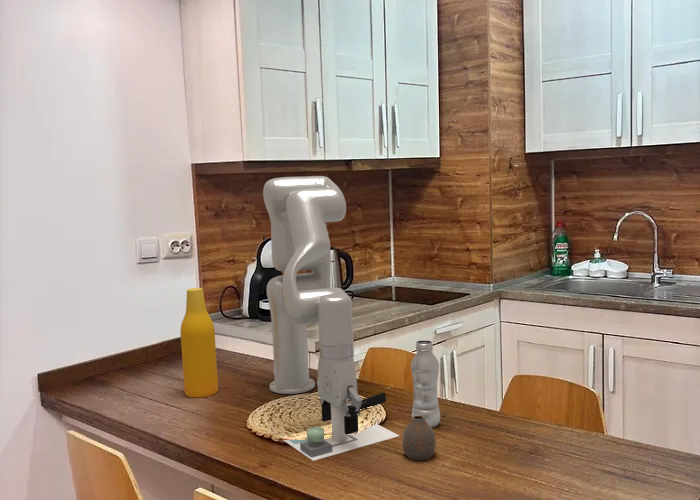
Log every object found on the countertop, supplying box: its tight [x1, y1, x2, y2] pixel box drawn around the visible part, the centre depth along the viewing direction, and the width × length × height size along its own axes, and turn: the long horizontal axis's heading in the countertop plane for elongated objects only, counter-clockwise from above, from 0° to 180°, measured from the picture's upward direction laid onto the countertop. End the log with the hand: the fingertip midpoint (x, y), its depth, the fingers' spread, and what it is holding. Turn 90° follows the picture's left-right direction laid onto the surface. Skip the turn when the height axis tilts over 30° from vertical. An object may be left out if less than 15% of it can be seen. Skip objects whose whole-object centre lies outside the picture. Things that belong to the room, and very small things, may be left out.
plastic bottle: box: [410, 339, 441, 429], centre depth 162 cm, size 6×7×20 cm
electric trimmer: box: [348, 392, 387, 410], centre depth 176 cm, size 4×15×3 cm, turn 134°
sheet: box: [282, 423, 400, 462], centre depth 158 cm, size 16×22×1 cm
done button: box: [306, 426, 324, 442], centre depth 150 cm, size 4×4×2 cm
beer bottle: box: [179, 287, 219, 399], centre depth 193 cm, size 9×9×29 cm
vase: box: [401, 415, 437, 461], centre depth 145 cm, size 7×7×9 cm
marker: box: [330, 400, 348, 442], centre depth 155 cm, size 4×4×10 cm
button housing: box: [300, 440, 332, 457], centre depth 150 cm, size 5×5×2 cm
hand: (339, 426), depth 156 cm, fingers open, 9 cm apart
